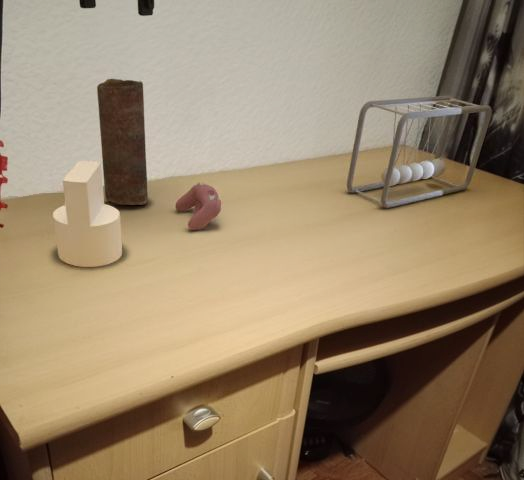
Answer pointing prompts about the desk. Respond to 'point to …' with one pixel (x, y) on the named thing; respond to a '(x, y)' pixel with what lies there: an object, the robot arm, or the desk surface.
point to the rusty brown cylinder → (123, 141)
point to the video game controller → (200, 205)
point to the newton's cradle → (425, 167)
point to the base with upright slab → (87, 220)
